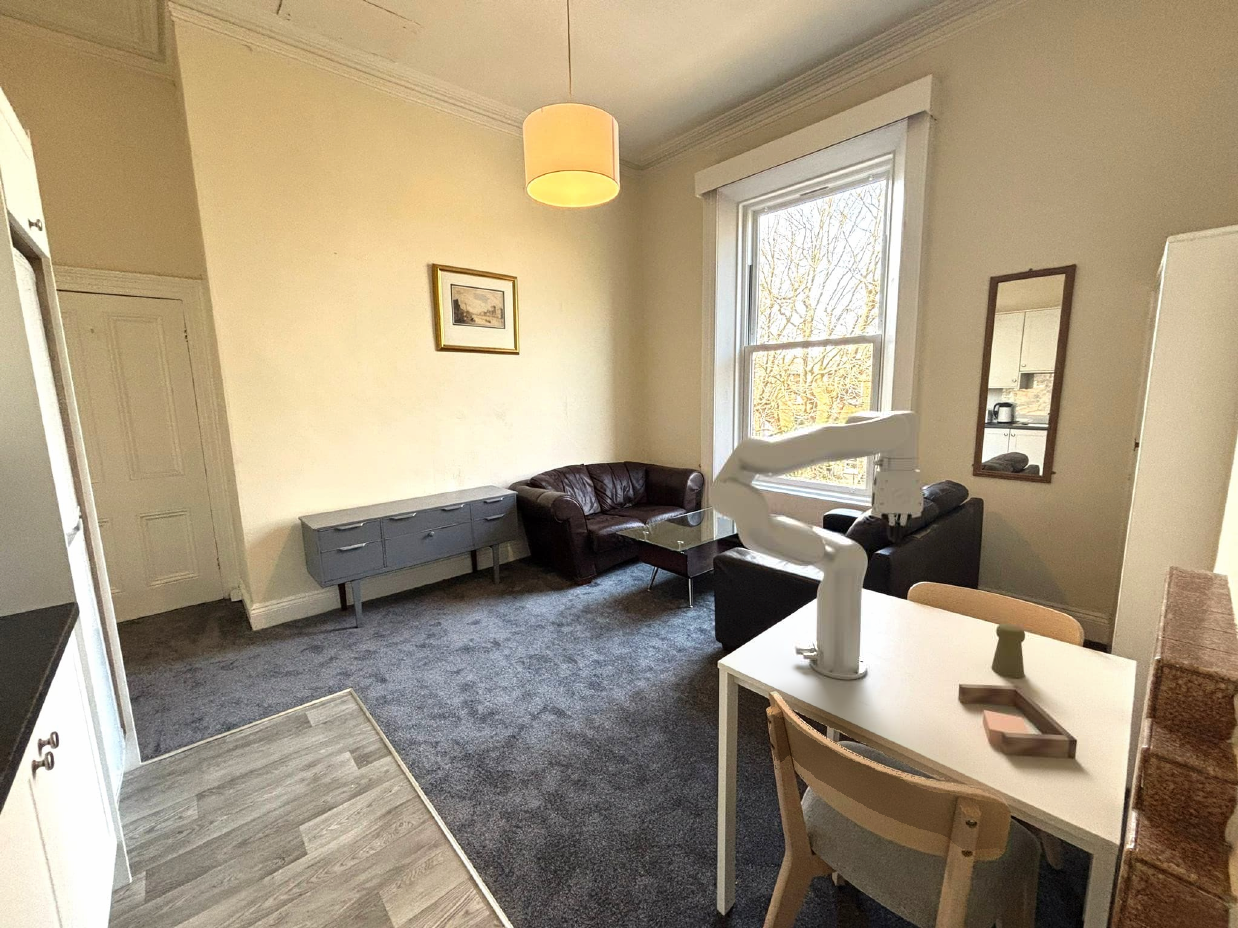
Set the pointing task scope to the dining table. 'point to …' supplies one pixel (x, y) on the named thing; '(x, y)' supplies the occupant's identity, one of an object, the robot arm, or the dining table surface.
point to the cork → (1009, 651)
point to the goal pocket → (1042, 745)
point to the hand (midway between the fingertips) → (894, 540)
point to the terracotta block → (1001, 725)
